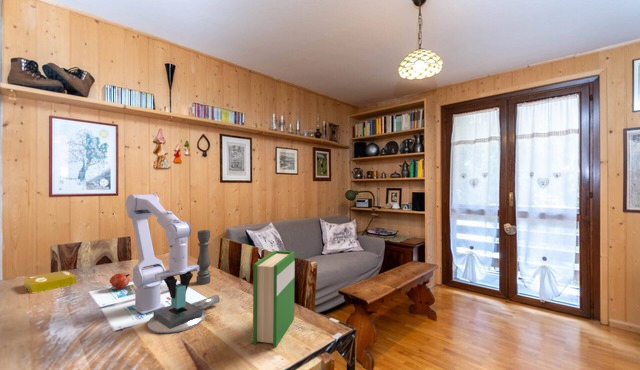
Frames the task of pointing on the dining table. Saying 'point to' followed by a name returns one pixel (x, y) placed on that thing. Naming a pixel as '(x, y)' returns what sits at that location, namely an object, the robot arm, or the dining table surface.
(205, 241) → the candle holder
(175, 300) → the teal rectangular prism
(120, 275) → the pomegranate
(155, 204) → the robot arm
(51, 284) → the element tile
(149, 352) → the dining table surface
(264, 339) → the hardback book
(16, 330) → the dining table surface
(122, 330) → the dining table surface
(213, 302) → the rosette bracket
